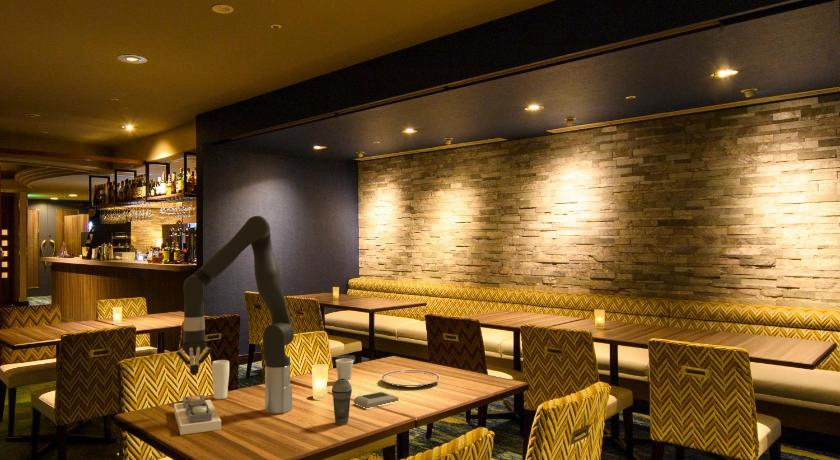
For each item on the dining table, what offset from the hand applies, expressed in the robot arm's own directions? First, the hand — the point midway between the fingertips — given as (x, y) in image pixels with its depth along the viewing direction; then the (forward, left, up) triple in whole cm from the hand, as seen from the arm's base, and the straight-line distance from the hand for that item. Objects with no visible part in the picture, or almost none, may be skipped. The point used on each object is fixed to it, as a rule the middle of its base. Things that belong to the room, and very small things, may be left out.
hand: (194, 374), depth 221 cm
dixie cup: (-32, -63, -15) cm, 72 cm away
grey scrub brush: (-60, -34, -15) cm, 70 cm away
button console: (-7, +7, -14) cm, 17 cm away
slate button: (-7, +7, -10) cm, 14 cm away
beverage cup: (-58, -7, -15) cm, 60 cm away
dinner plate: (-61, -72, -15) cm, 95 cm away
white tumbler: (+4, -21, -15) cm, 26 cm away
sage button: (-14, +14, -10) cm, 22 cm away
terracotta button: (0, 0, -11) cm, 11 cm away
